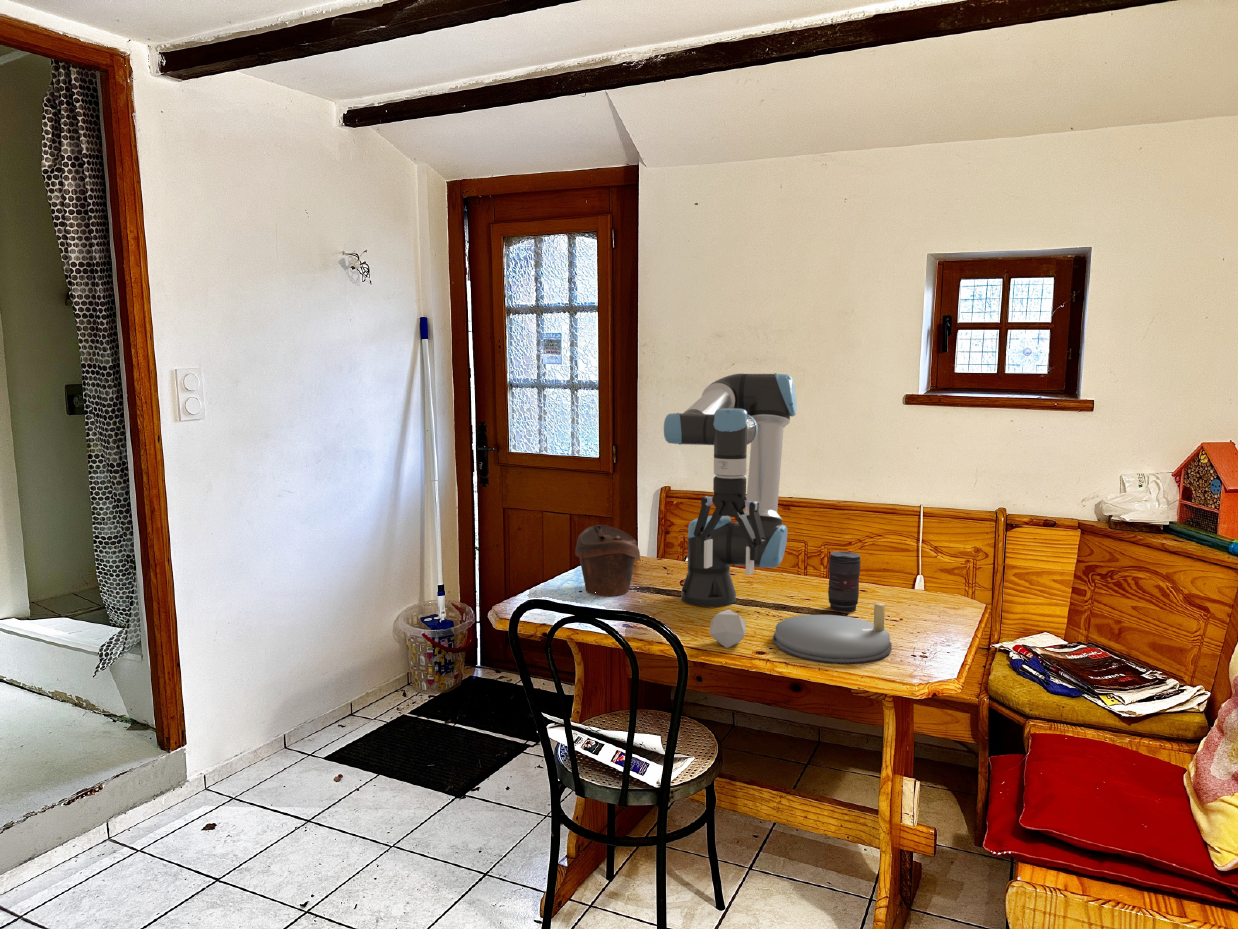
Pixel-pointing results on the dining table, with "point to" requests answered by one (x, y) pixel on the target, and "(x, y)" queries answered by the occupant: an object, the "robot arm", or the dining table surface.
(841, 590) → the camera lens
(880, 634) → the turntable
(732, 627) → the die
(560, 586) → the dining table surface
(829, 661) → the turntable base
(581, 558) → the brown tapered cup shape
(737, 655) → the dining table surface
